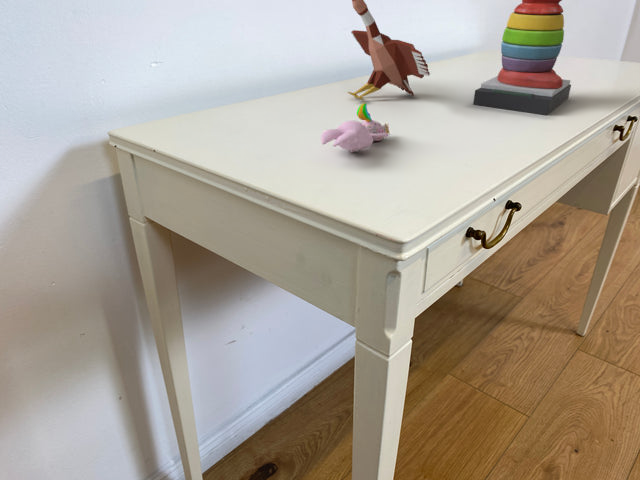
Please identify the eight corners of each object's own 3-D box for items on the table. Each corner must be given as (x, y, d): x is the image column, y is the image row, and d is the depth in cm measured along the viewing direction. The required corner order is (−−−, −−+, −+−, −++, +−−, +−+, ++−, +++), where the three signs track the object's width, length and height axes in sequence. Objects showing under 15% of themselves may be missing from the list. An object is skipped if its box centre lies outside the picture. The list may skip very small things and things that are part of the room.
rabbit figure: (357, 141, 72) (303, 155, 59) (361, 98, 70) (307, 102, 57) (398, 148, 69) (351, 163, 56) (404, 103, 67) (356, 109, 54)
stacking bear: (564, 89, 80) (592, -38, 72) (497, 87, 82) (517, -38, 74) (553, 77, 90) (577, -38, 81) (493, 74, 92) (511, -37, 83)
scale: (546, 115, 79) (551, 94, 77) (472, 104, 85) (475, 85, 84) (568, 98, 89) (572, 79, 87) (500, 90, 95) (503, 72, 94)
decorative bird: (294, 67, 97) (322, -14, 92) (373, 98, 105) (403, 25, 100) (345, 100, 73) (387, -7, 68) (442, 136, 81) (487, 44, 76)
